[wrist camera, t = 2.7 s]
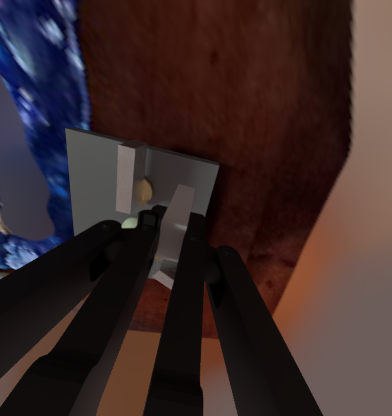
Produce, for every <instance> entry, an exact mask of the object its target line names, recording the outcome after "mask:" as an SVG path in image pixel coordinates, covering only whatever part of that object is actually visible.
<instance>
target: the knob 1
mask: <svg viewBox="0 0 392 416" xmlns="http://www.w3.org/2000/svg"><path fill="white" fill-rule="evenodd" d="M147 145H148V143H146V142H142V141H137V140H131V141H128V142H125V143H122V144H119V145H118V166H117V193H116V211H119V212H123V213H127V214H131V213H132V211H133V210H134V209H135V208H136V206H142V205H145V204H147V203H148V202H149V201H150V199H151V198H152V196H153V193H154V188H153V185H152V183H151V181H150V180H149V179H148V178H146V177H145V176H144V174H145V164H146V155H147Z"/></svg>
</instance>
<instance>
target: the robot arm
mask: <svg viewBox="0 0 392 416" xmlns="http://www.w3.org/2000/svg"><path fill="white" fill-rule="evenodd" d="M194 193H195V188H193V187H189V186H185V185H181V184H179V185H178V187H177V189H176V191H175V194H174V196H173V198H172V200H171V202H170V204H169V206H168V207H166V206H162V205H158V204H157V205H155V206H153V207H152V209H151V210H149V209H148V210H142V211H140V212H138V220H137V225H136V227H135V228H122V225H121V223H120V222H118V221H115V220H103V221H101V222H98V223H97V224H95V225H93V226H92V227H90V228H88V229H86V230H85V231H83V232H81V233H79V234H78V235H76V236H74V237H73V238H71V239H69V240H67V241H66V242H64V243H62V244H60V245H59V246H57V247H55V248H54V249H52V250H50V251H48V252H47V253H45V254H43V255H42V256H40V257H38V258H36V259H35V260H33V261H31V262H29V263H28V264H26V265H24V266H23V267H21V268H19V269H17V270H16V271H14V272H12V273H10V274H9V275H7V276H5V277H4V278H2V279H0V378H1V377H2V376H3V375H4V374H6V373H7V372H8V371H9V370H10V369H11V368H12V367H13V366H14V365H15V364H16V363H17V362H18V361H19V360H20V359H21V358H22V357H23V356H24V355H25V354H26V353H27V352H28V351H29V350H31V349H32V348H33V347H34V346H35V345H36V344H37V343H38V342H39V341H40V340H41V339H42V338H43V337H44V336H45V335H46V334H47V333H48V332H49V331H50V330H51V329H52V328H53V327H54V326H56V325H57V324H58V323H59V322H60V321H61V320H62V319H63V318H64V317H65V316H66V315H67V314H68V313H69V312H70V311H71V310H72V309H73V308H74V307H75V306H76V305H77V304H78V303H79V302H80V301H82V300H83V299H84V298H85V297H86V296H87V295H88V294H89V293H90V292H91V291H92V292H91V293H90V295H89V296H88V298H87V299H86V301H85V302H84V304H83V305H82V307H81V308H80V310H79V311H78V313H77V314H76V316H75V317H74V319H73V320H72V322H71V323H70V325H69V326H68V327H67V329H66V331H65V332H64V333H63V335H62V336H61V338H60V339H59V341H58V342H57V344H56V345H55V347H54V348H53V349H52V350H51V352H50V353H48V354H47V355H44V356H42V357H39V358H38V359H37V360H36V361H35V362H34V363H33V364H32V365H31V366H30V367H29V369H28V370H27V371H26V372H25V374H24V375H23V376H22V378H21V379H20V381H19V382H18V383H17V385H16V386H15V388H14V389H13V390H12V392H11V393H10V394H9V396H8V397H7V399H6V400H5V401H4V403H3V404H2V405H1V407H0V416H96V413H97V409H98V406H99V402H100V400H101V397H102V394H103V392H104V389H105V387H106V384H107V381H108V379H109V376H110V374H111V371H112V369H113V366H114V363H115V361H116V358H117V356H118V353H119V351H120V348H121V345H122V343H123V340H124V337H125V335H126V333H127V330H128V327H129V325H130V322H131V320H132V317H133V315H134V312H135V309H136V307H137V304H138V302H139V299H140V296H141V294H142V291H143V289H144V286H145V284H146V281H147V278H148V276H149V273H150V271H151V268H152V266H153V263H154V257H155V254H156V257H157V258H162V259H166V260H170V261H175V262H178V264H177V268H176V272H175V277H174V281H173V286H172V290H171V294H170V298H169V303H168V307H167V311H166V316H165V320H164V324H163V329H162V333H161V337H160V342H159V346H158V350H157V355H156V359H155V363H154V368H153V372H152V377H151V381H150V385H149V389H148V394H147V398H146V402H145V407H144V411H143V415H142V416H203V391H202V388H201V386H200V362H201V340H202V318H203V296H204V281H205V282H206V288H207V292H208V296H209V300H210V304H211V308H212V312H213V316H214V320H215V324H216V328H217V332H218V337H219V341H220V345H221V349H222V353H223V356H224V361H225V365H226V369H227V373H228V377H229V381H230V385H231V389H232V393H233V397H234V401H235V405H236V409H237V413H238V416H323V414H322V413H321V411H320V409H319V407H318V405H317V403H316V401H315V399H314V397H313V395H312V393H311V391H310V389H309V387H308V385H307V384H306V382H305V380H304V378H303V376H302V374H301V372H300V370H299V368H298V366H297V364H296V362H295V361H294V358H293V357H292V355H291V353H290V351H289V349H288V347H287V345H286V343H285V341H284V339H283V337H282V335H281V333H280V332H279V330H278V328H277V326H276V324H275V322H274V320H273V318H272V316H271V314H270V312H269V310H268V308H267V307H266V305H265V303H264V301H263V299H262V297H261V295H260V293H259V291H258V289H257V287H256V285H255V283H254V282H253V280H252V278H251V276H250V274H249V272H248V270H247V268H246V266H245V264H244V262H243V260H242V258H241V257H240V255H239V253H238V252H237V250H235V249H234V248H232V247H230V246H226V245H221V246H219V247H218V248H217V249H216V248H214V247H212V246H210V245H209V244H208V243H207V242H206V238H205V237H204V236H205V217H204V215H203V214H198V213H194V212H190V211H191V207H192V202H193V197H194Z"/></svg>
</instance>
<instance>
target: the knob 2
mask: <svg viewBox="0 0 392 416" xmlns="http://www.w3.org/2000/svg"><path fill="white" fill-rule="evenodd" d="M154 258H155V260H156V261H157V264H156V267H155V270H154V272H153V275H152V277H153V278H155V279H156V280H158V281H159V282H161V283H162V284H164V285H165V286H167V287H168V288H170V289H171V290H172V286H173V281H174V277H175V272H176V268H177V264H178V262H175V261H170V260H166V259H162V258H157V257H156V254H155V257H154Z"/></svg>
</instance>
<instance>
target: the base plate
mask: <svg viewBox="0 0 392 416" xmlns="http://www.w3.org/2000/svg"><path fill="white" fill-rule="evenodd" d="M65 129H66V141H67V153H68V165H69V177H70V189H71V201H72V213H73V225H74V236H76V235H78V234H79V233H81V232H83V231H85V230H86V229H88V228H89V227H91V226H93V225H95V224H97V223H98V222H101V221H103V220H115V221H118V222H120V223H121V225H122V228H135V227H136V225H137V220H138V212H140V211H142V210H148V209H149V210H151V209H152V207H153V206H155V205H157V204H158V205H162V206H166V207H168V206H169V204H170V202H171V200H172V198H173V196H174V194H175V191H176V189H177V187H178V185H179V184H181V185H185V186H189V187H193V188H195V193H194V197H193V202H192V207H191V211H190V212H194V213H198V214H203V215H204V217H205V214H206V211H207V207H208V204H209V200H210V197H211V193H212V190H213V186H214V183H215V179H216V176H217V172H218V169H219V162H215V161H211V160H207V159H203V158H199V157H194V156H190V155H186V154H182V153H178V152H174V151H170V150H166V149H162V148H158V147H153V146H149V145H147V155H146V164H145V174H144V176H145V177H146V178H148V179H149V180H150V181H151V183H152V185H153V188H154V193H153V196H152V198H151V199H150V201H149V202H148V203H147V204H145V205H142V206H136V208H135V209H134V210H133V211H132V213H131V214H127V213H123V212H119V211H116V193H117V166H118V145H119V144H122V143H125V142H128V141H129V140H125V139H121V138H117V137H113V136H108V135H104V134H100V133H96V132H92V131H88V130H84V129H80V128H76V127H73V128H65ZM156 264H157V261H156V260H155V258H154V263H153V266H152V268H151V271H150V273H149V276H148V278H152V279H155V278H153V277H152V275H153V272H154V270H155V267H156Z"/></svg>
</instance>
